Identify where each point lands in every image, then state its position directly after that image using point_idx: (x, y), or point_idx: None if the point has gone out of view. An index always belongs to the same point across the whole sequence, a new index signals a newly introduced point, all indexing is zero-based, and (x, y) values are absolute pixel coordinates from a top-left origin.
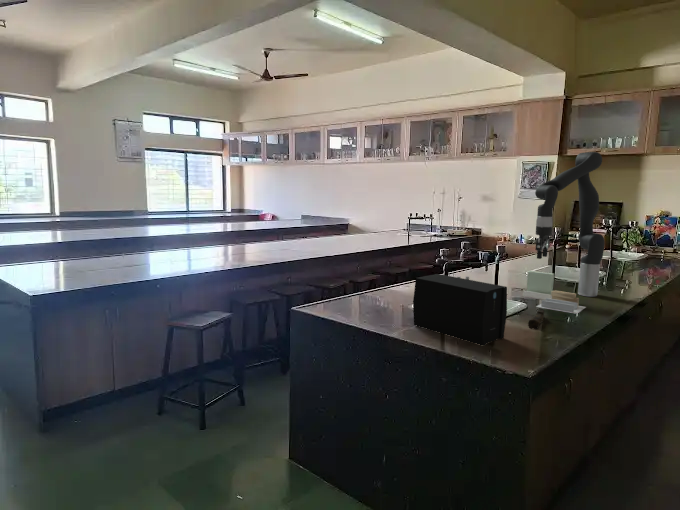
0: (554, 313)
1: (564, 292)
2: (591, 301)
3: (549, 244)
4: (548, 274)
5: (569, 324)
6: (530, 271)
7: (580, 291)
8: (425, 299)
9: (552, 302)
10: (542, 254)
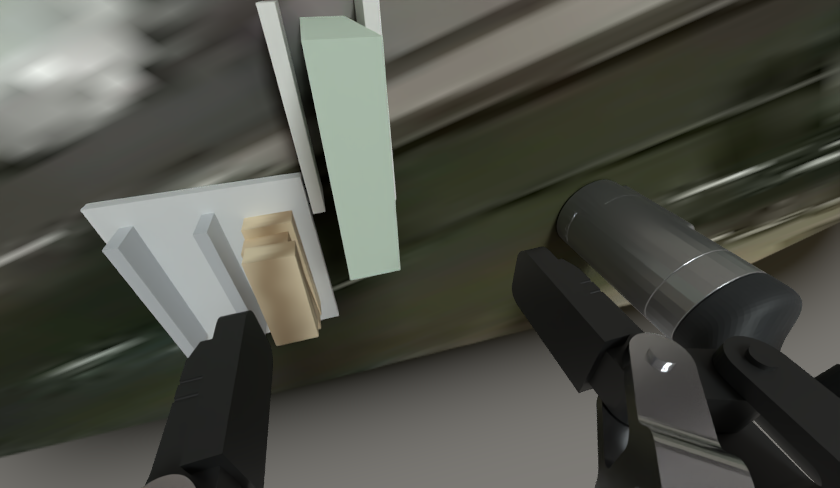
0: (118, 294)
1: (291, 305)
2: (480, 266)
3: (753, 461)
4: (345, 254)
5: (21, 392)
6: (331, 70)
7: (579, 207)
8: None
9: (139, 296)
10: (539, 266)
